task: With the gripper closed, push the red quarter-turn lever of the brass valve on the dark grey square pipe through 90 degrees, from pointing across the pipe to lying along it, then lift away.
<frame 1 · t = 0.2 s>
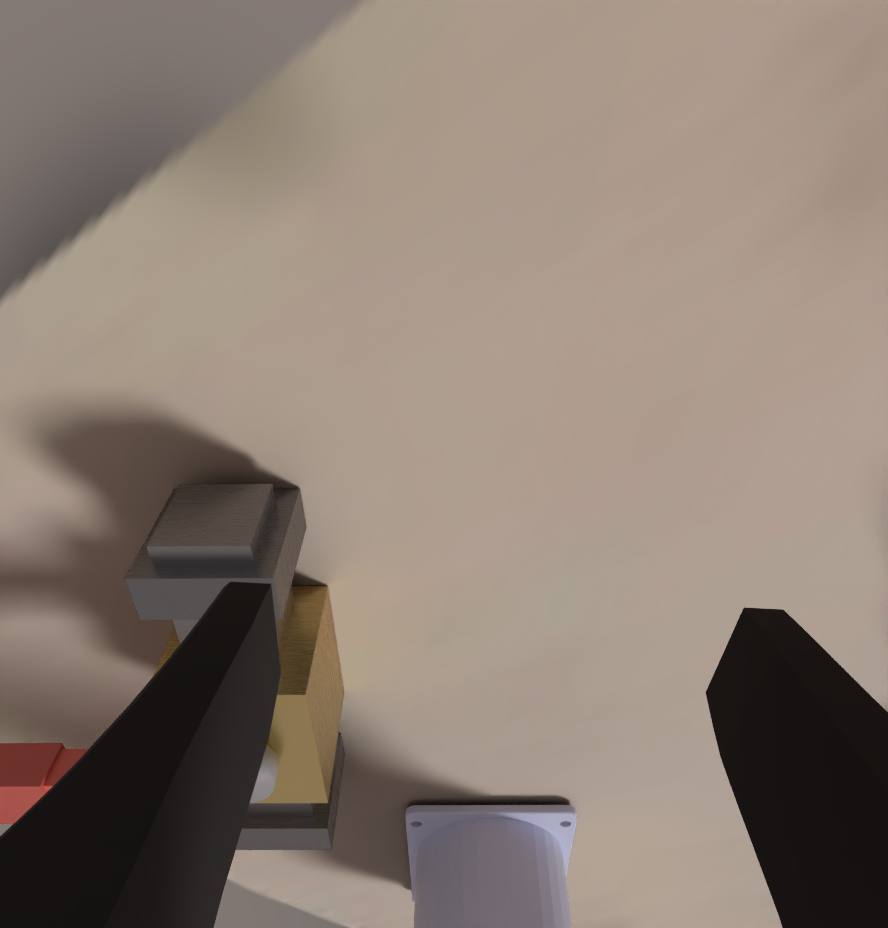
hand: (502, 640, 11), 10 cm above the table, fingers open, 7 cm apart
lever: (111, 781, 21), point 5 cm above the table, hinge at 90.0°
pipe valve: (273, 643, 26), on the table
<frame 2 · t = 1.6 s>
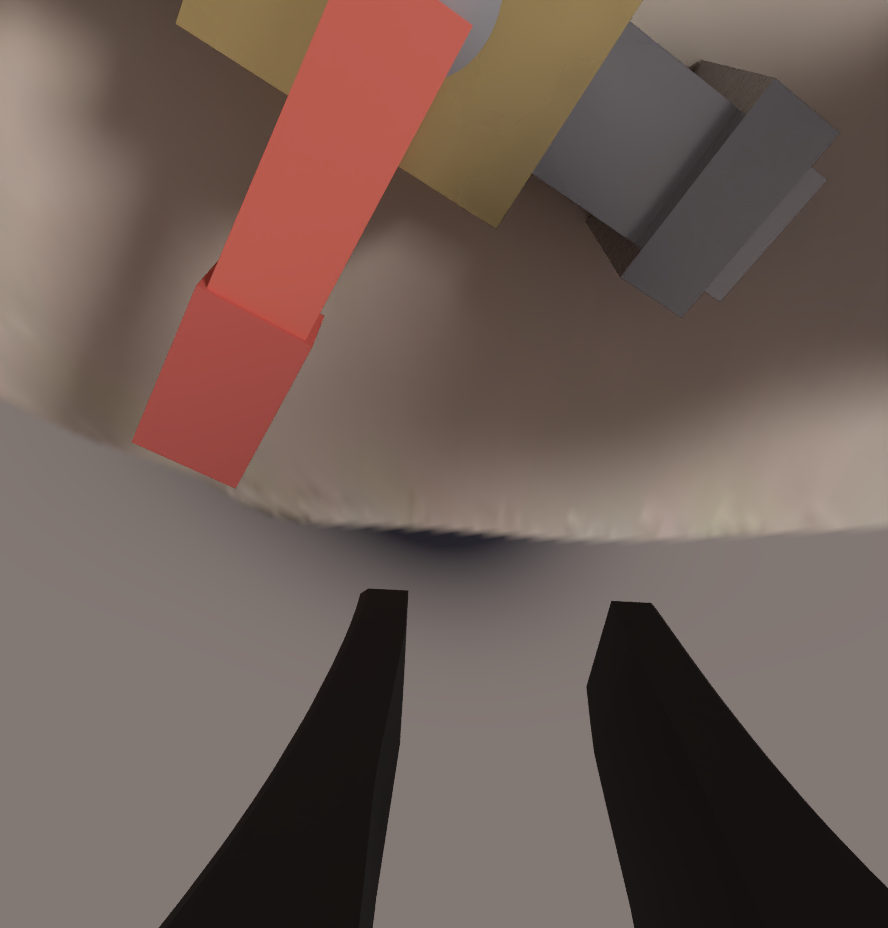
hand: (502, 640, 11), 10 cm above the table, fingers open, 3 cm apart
lever: (300, 227, 11), point 5 cm above the table, hinge at 90.0°
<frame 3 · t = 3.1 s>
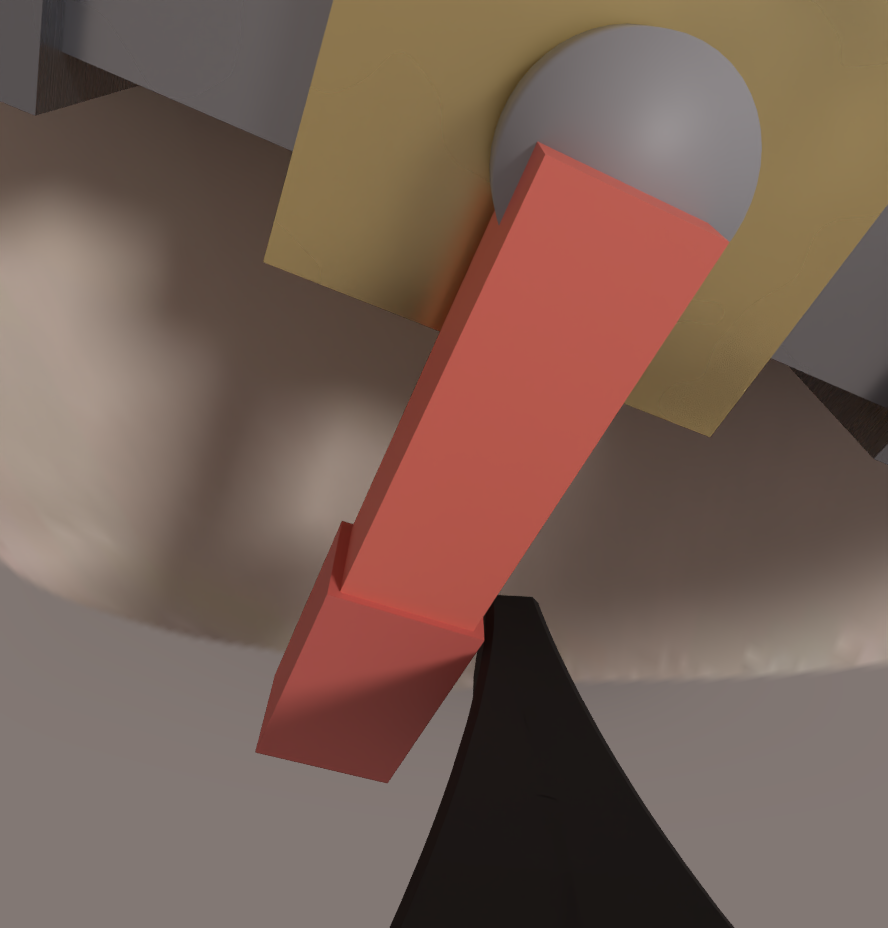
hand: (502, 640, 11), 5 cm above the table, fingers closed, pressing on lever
lever: (455, 493, 8), point 5 cm above the table, hinge at 89.8°, touching gripper
pipe valve: (550, 103, 11), on the table
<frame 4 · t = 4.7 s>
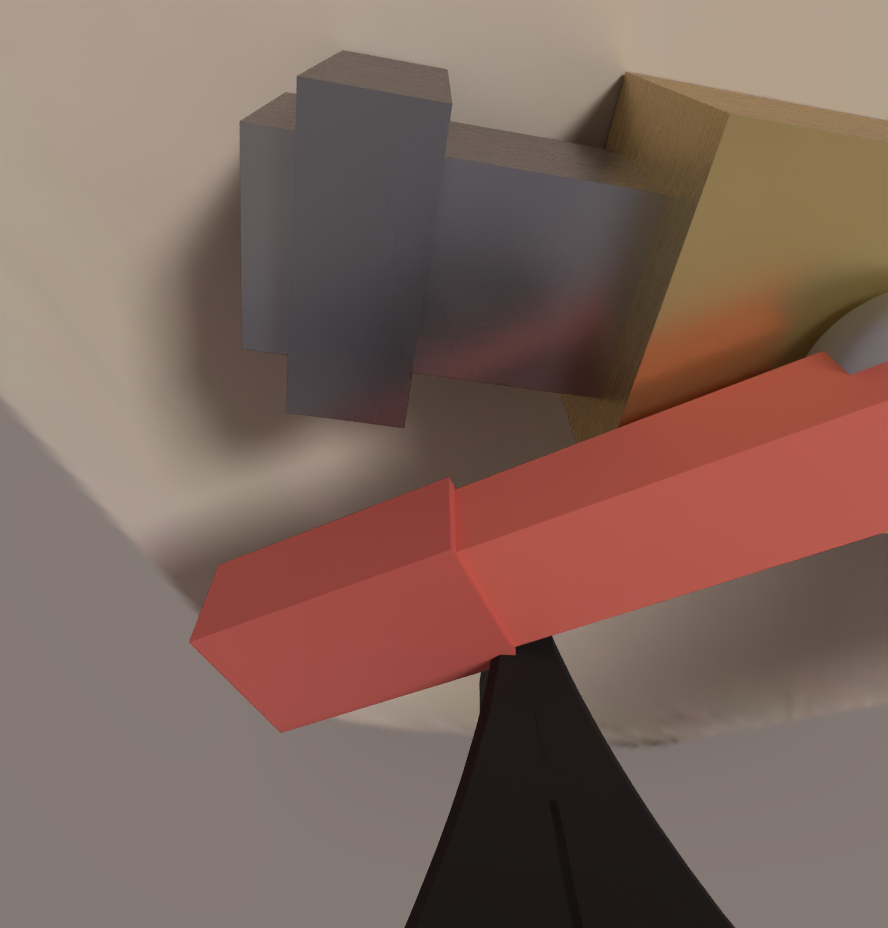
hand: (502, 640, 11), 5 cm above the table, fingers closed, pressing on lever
lever: (594, 527, 8), point 5 cm above the table, hinge at 34.0°, touching gripper
pipe valve: (746, 256, 12), on the table
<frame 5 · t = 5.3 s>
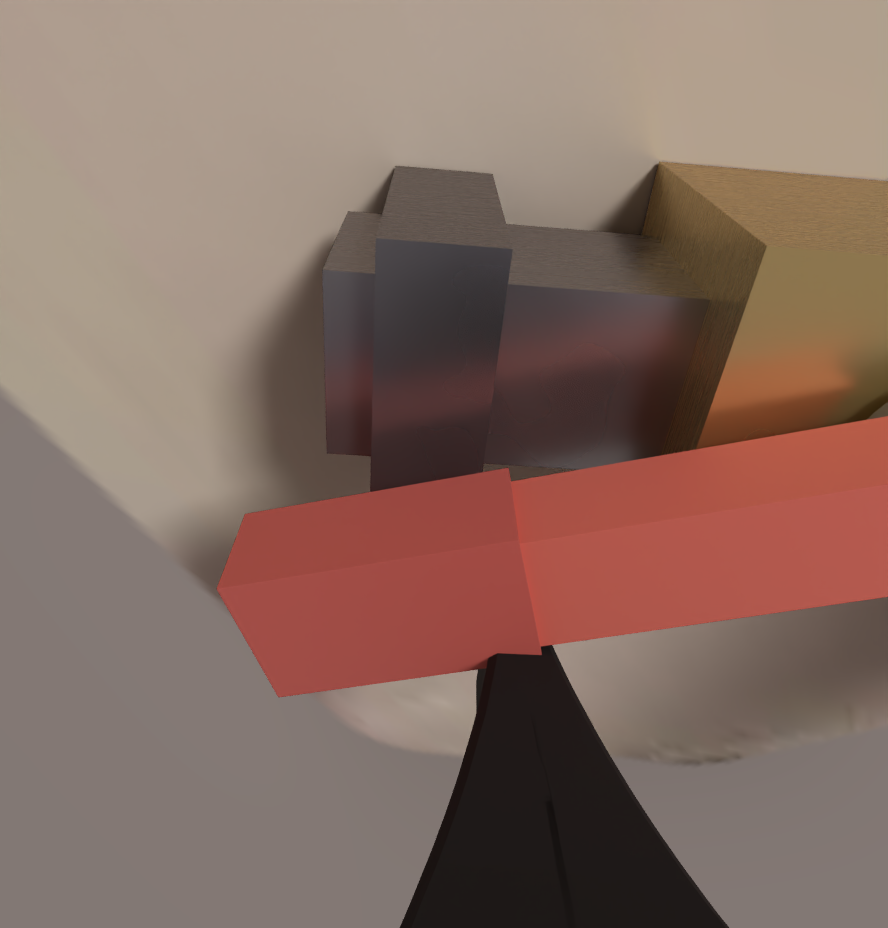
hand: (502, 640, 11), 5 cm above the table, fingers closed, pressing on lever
lever: (642, 542, 9), point 5 cm above the table, hinge at 16.7°, touching gripper
pipe valve: (784, 313, 13), on the table
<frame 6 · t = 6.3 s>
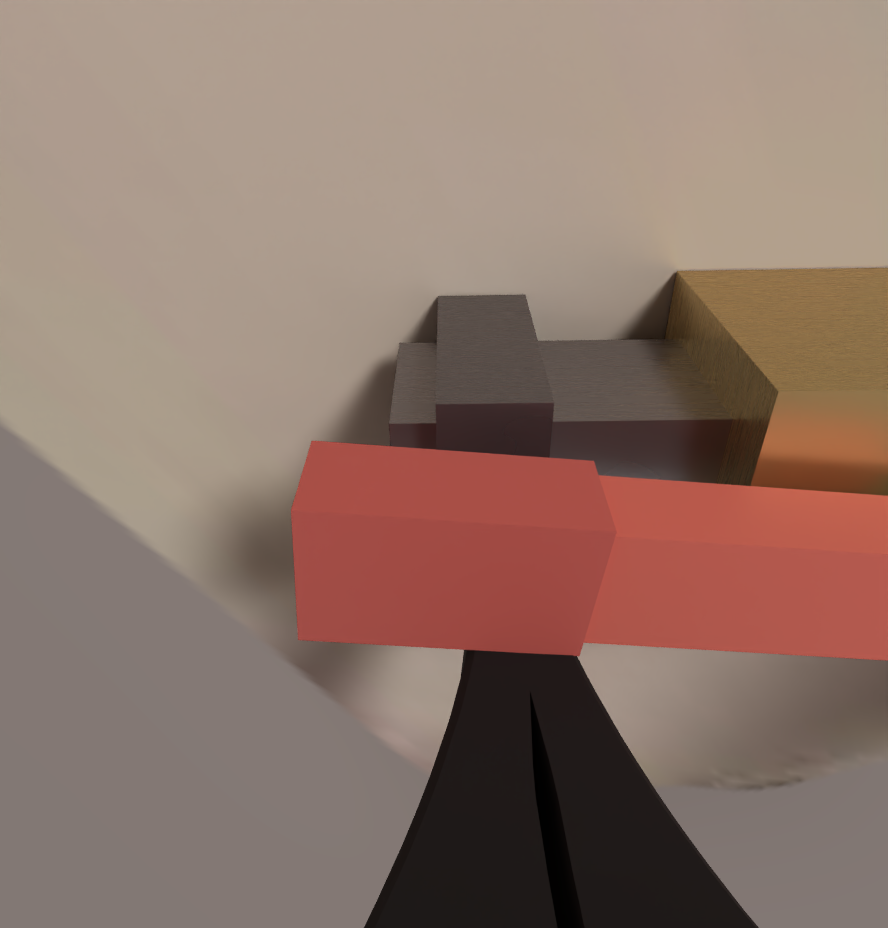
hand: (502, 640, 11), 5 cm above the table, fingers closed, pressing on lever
lever: (699, 563, 9), point 5 cm above the table, hinge at -5.8°, touching gripper
pipe valve: (806, 387, 13), on the table
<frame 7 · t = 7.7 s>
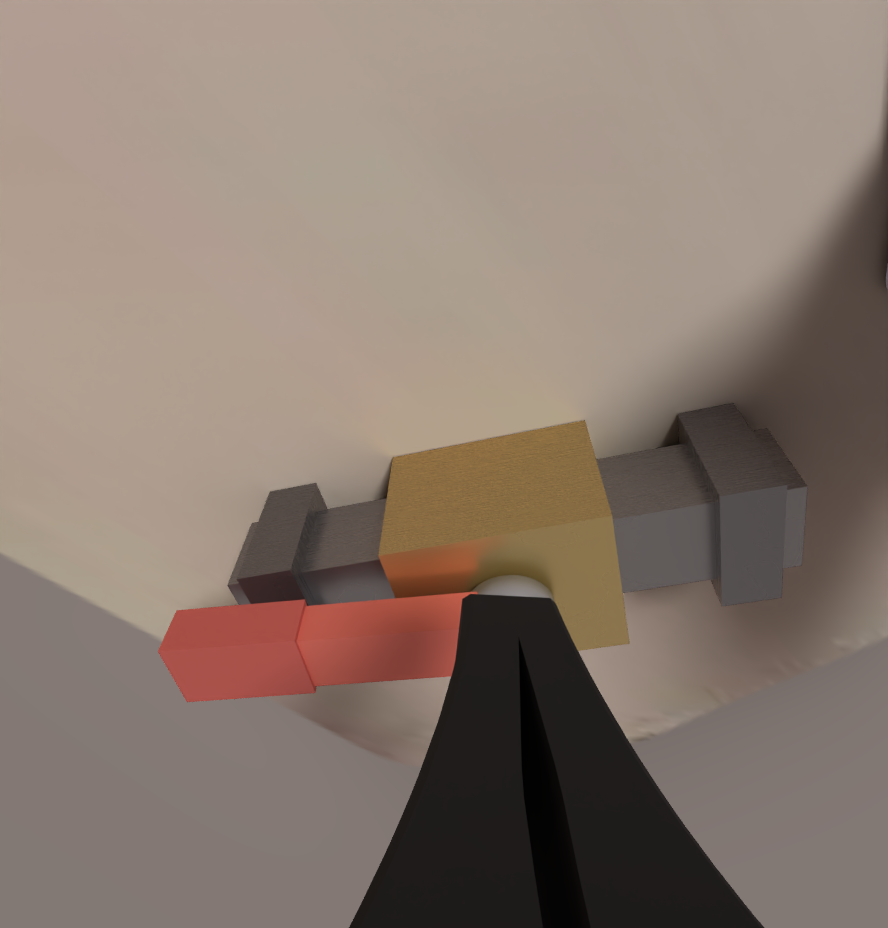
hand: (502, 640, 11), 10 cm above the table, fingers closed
lever: (365, 640, 18), point 5 cm above the table, hinge at -5.8°
pipe valve: (501, 499, 22), on the table
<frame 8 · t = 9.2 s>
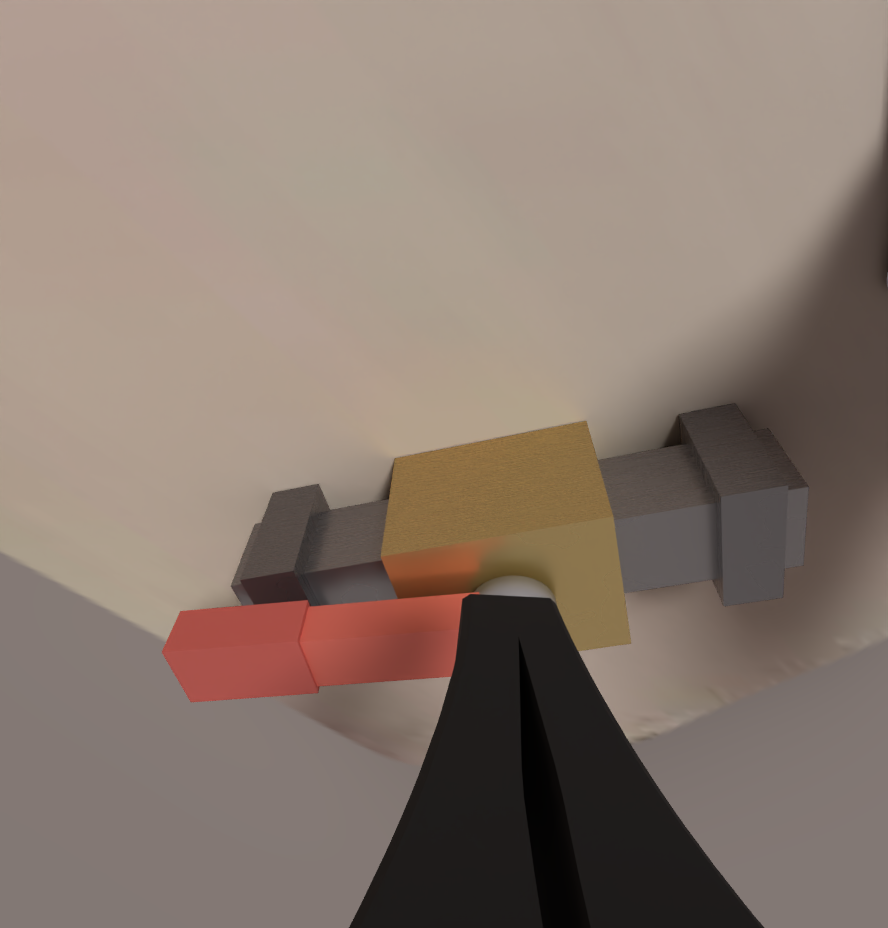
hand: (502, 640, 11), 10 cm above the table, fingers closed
lever: (367, 640, 18), point 5 cm above the table, hinge at -5.8°
pipe valve: (503, 500, 22), on the table
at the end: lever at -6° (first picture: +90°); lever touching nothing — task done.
